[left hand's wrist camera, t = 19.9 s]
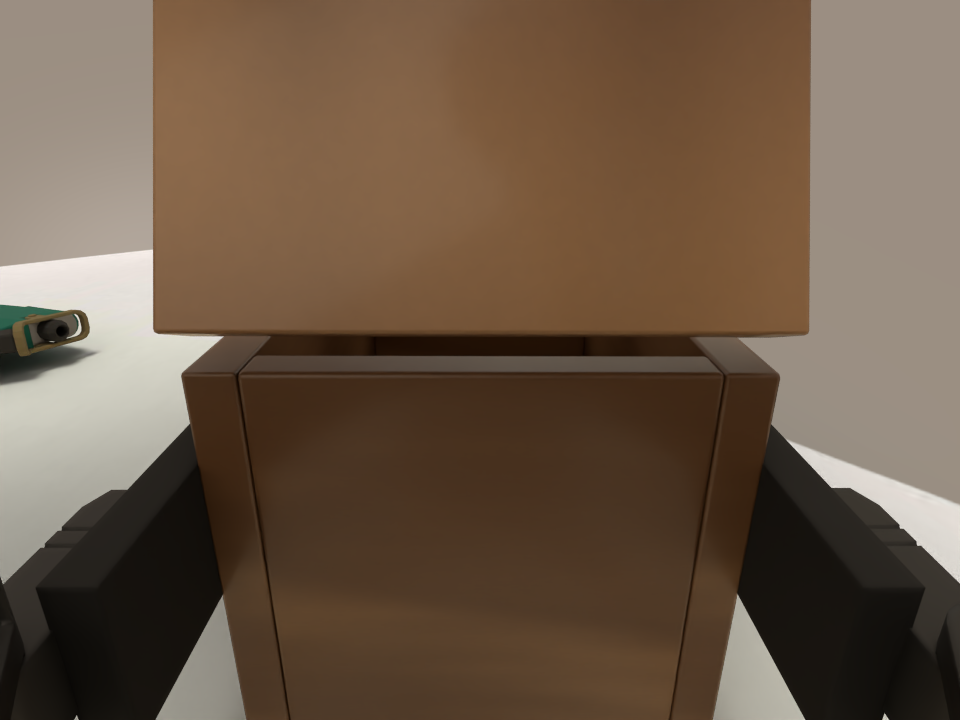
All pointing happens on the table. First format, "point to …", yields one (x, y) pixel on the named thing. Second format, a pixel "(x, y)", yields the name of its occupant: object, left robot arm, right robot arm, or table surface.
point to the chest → (480, 521)
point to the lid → (481, 168)
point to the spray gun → (38, 328)
